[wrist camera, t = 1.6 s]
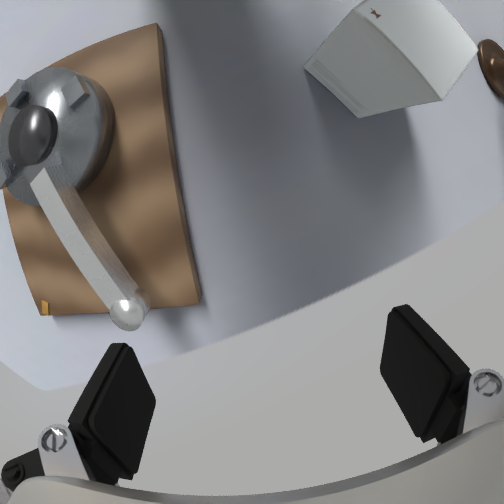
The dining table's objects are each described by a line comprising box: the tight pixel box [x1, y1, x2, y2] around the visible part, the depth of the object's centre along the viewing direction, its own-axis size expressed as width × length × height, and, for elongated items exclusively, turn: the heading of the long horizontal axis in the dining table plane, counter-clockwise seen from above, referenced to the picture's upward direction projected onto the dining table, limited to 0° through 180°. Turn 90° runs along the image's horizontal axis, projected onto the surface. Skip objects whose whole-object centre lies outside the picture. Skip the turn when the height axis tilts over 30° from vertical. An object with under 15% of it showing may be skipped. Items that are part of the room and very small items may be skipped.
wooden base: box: [0, 23, 202, 316], centre depth 23 cm, size 27×21×2 cm
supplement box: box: [303, 0, 478, 118], centre depth 15 cm, size 7×7×13 cm
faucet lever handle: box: [0, 67, 151, 331], centre depth 19 cm, size 24×12×7 cm, turn 30°
